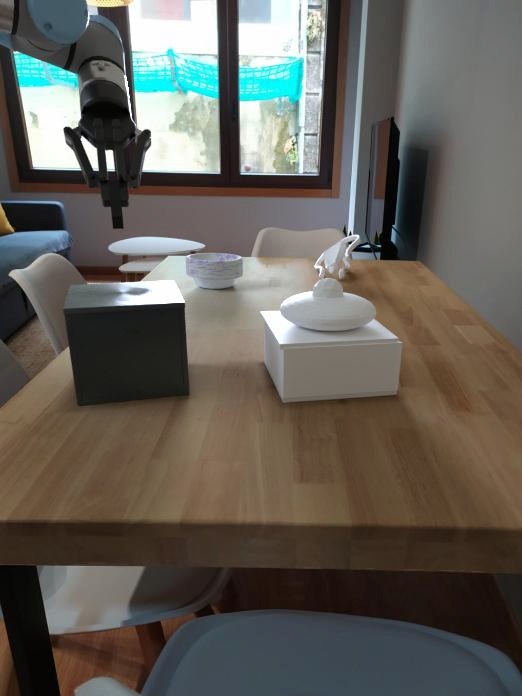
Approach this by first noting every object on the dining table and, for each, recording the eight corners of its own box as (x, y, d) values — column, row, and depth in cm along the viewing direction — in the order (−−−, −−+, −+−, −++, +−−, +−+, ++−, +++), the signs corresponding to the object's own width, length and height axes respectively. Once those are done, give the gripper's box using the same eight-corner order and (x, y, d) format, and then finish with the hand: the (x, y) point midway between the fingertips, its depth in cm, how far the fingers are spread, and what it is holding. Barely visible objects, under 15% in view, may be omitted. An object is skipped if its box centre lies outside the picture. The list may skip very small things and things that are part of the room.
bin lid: (185, 307, 74) (185, 302, 74) (63, 314, 70) (62, 308, 70) (174, 285, 87) (173, 280, 87) (70, 290, 83) (69, 284, 82)
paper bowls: (248, 281, 154) (248, 252, 151) (235, 293, 140) (235, 262, 137) (196, 278, 156) (195, 250, 153) (179, 290, 142) (177, 259, 139)
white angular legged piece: (373, 277, 152) (371, 250, 170) (355, 251, 149) (355, 226, 167) (324, 308, 159) (327, 279, 177) (306, 284, 155) (311, 257, 174)
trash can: (189, 394, 80) (184, 306, 75) (77, 405, 76) (63, 313, 71) (179, 363, 92) (174, 285, 87) (81, 371, 88) (70, 290, 83)
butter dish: (397, 394, 81) (408, 289, 75) (279, 403, 78) (280, 293, 72) (359, 355, 97) (366, 266, 91) (260, 361, 94) (260, 268, 88)
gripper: (56, 77, 80) (64, 205, 72) (147, 82, 84) (164, 204, 75) (64, 119, 87) (72, 240, 79) (147, 122, 90) (164, 238, 82)
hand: (117, 222), depth 77 cm, fingers closed
